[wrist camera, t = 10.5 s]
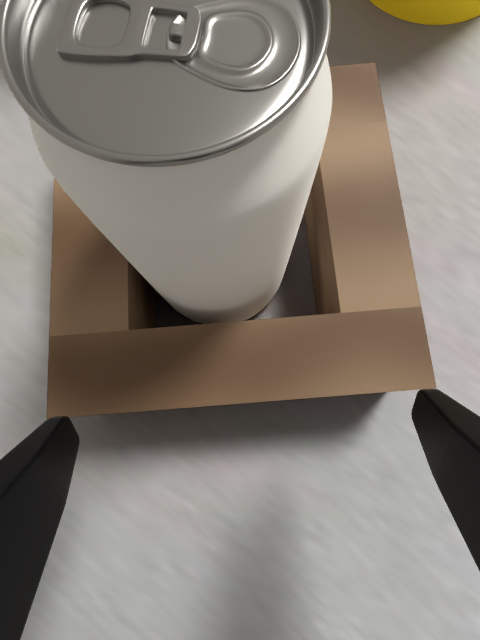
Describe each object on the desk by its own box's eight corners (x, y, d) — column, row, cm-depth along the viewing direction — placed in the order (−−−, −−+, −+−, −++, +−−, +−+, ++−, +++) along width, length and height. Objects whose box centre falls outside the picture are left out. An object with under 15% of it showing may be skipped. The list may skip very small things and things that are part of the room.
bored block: (390, 387, 16) (436, 387, 12) (95, 411, 16) (46, 418, 12) (348, 130, 19) (375, 62, 15) (96, 151, 19) (57, 89, 15)
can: (274, 337, 17) (337, 215, 5) (145, 317, 17) (-88, 157, 5) (291, 216, 18) (375, -115, 6) (171, 200, 18) (30, -142, 6)
